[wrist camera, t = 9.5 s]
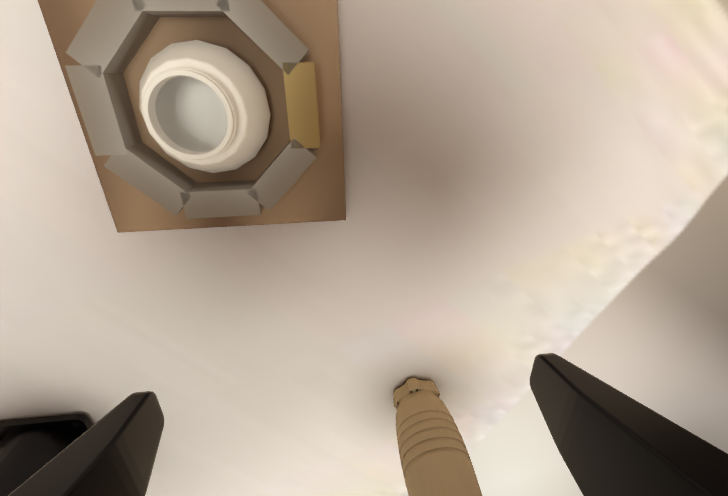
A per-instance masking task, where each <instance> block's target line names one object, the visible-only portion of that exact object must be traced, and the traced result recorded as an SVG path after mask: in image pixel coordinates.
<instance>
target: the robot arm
mask: <svg viewBox="0 0 728 496" xmlns="http://www.w3.org/2000/svg"><path fill="white" fill-rule="evenodd" d="M530 386H531V389H532V392H533V394H534V396H535V398H536V401H537V403H538V405H539V407H540V410H541V412H542V414H543V417H544V419H545V421H546V423H547V426H548V428H549V430H550V433H551V435H552V437H553V439H554V442H555V444H556V446H557V448H558V450H559V452H560V454H561V456H562V458H563V459H564V461H565V463H566V465H567V467H568V468H569V470H570V472H571V474H572V476H573V477H574V479H575V481H576V483H577V485H578V486H579V488H580V490H581V492H582V494H583V495H584V496H728V454H727V453H725V452H724V451H722V450H720V449H718V448H717V447H715V446H713V445H711V444H710V443H708V442H706V441H705V440H703V439H701V438H699V437H698V436H696V435H694V434H692V433H691V432H689V431H687V430H686V429H684V428H682V427H680V426H679V425H677V424H675V423H674V422H672V421H670V420H668V419H667V418H665V417H663V416H662V415H660V414H658V413H656V412H655V411H653V410H651V409H649V408H648V407H646V406H644V405H643V404H641V403H639V402H637V401H636V400H634V399H632V398H630V397H628V396H627V395H625V394H623V393H622V392H620V391H618V390H616V389H615V388H613V387H611V386H610V385H608V384H606V383H605V382H603V381H601V380H599V379H598V378H596V377H594V376H593V375H591V374H589V373H587V372H586V371H584V370H582V369H581V368H579V367H577V366H575V365H573V364H572V363H570V362H568V361H567V360H565V359H563V358H562V357H560V356H558V355H556V354H554V353H548V354H539V355H537V356H536V357H535V360H534V364H533V368H532V372H531V376H530ZM163 427H164V416H163V413H162V410H161V407H160V405H159V402H158V399H157V397H156V395H155V393H154V392H151V391H147V392H137V393H133V394H131V395H130V396H128V397H127V398H126V399H125V400H123V401H122V402H121V403H120V404H119V405H117V406H116V407H115V408H114V409H113V410H111V411H110V412H109V413H108V414H106V415H105V416H104V417H103V418H102V419H100V420H99V421H98V422H97V423H96V424H94V425H93V426H92V424H91V423H90V421H89V419H88V417H87V416H85V415H82V414H74V415H64V416H53V417H43V418H33V419H23V420H13V421H2V422H0V496H145V494H146V491H147V487H148V484H149V480H150V476H151V472H152V468H153V465H154V461H155V457H156V453H157V450H158V446H159V442H160V438H161V435H162V431H163Z"/></svg>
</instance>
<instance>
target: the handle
mask: <svg viewBox="0 0 728 496" xmlns="http://www.w3.org/2000/svg"><path fill="white" fill-rule="evenodd" d="M439 395H440V393H439V391H438V389H437V387H436V386H435V384H434V383H433V382H432V381H430V380H427V381H423V380H418V379H416V378H410V379H408V380H407V382H406V383H405V384H404V385H403V386H401V387H400V388H397V389H396V390H395V392H394V407H396V409H397V413H396V430H397V440H398V447H399V454H400V460H401V465H402V469H403V474H404V478H405V483H406V487H407V490H408V494H409V496H482V493H481V490H480V487H479V484H478V481H477V478H476V475H475V471H474V469H473V465H472V462H471V460H470V457H469V454H468V452H467V449H466V446H465V444H464V441H463V439H462V437H461V434H460V432H459V430H458V428H457V426H456V424H455V422H454V420H453V418H452V416H451V414H450V412H449V411H448V409H447V408H446V406H445V404H444V403H443V401H442V400H441V399H439Z"/></svg>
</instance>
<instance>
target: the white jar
mask: <svg viewBox="0 0 728 496" xmlns="http://www.w3.org/2000/svg"><path fill="white" fill-rule="evenodd" d="M139 108H140V111H141V113H142V116H143V118H144V121H145V124H146V126H147V129H148V131H149V134H150V135H151V136H152V137H153V138H154V139H155V141H156V142H157V143H158V144H159V145H160V147H161V148H162V149H163V150H164V151H165V152H166V154H167V155H169V156H171V157H172V158H174V159H176V160H177V161H179V162H181V163H182V164H184V165H186V166H187V167H189V168H192V169H197V170H201V171H206V172H211V173H217V172H224V171H230V170H236V169H238V168H239V167H241V166H242V165H244V164H245V163H247V162H248V161H250V160H251V159H253V158H255V156H256V155H257V153H258V152H259V150H260V148H261V147H262V145H263V144H264V142H265V140H266V139H267V137H268V130H269V123H270V116H271V113H270V109H269V104H268V100H267V96H266V92H265V88H264V87H263V85H262V84H261V82H260V81H259V79H258V78H257V76H256V75H255V73H254V72H253V70H252V69H251V67H250V66H249V65H248V64H247V63H245V62H244V61H243V60H242V59H240V58H239V57H238V56H236V55H235V54H234V53H232V52H231V51H230V50H228V49H227V48H224V47H220V46H217V45H213V44H210V43H206V42H203V41H199V40H193V41H186V42H179V43H172V44H170V45H168V46H167V47H166V48H164V49H163V50H162V51H160V52H159V53H157V54H156V55H155V56H153V57H152V58H151V59H150V61H149V63H148V65H147V67H146V69H145V71H144V73H143V75H142V77H141V79H140V84H139Z"/></svg>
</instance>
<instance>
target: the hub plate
mask: <svg viewBox="0 0 728 496" xmlns="http://www.w3.org/2000/svg"><path fill="white" fill-rule="evenodd" d="M38 2H39V5H40V8H41V11H42V14H43V17H44V20H45V23H46V26H47V29H48V31H49V34H50V37H51V40H52V43H53V46H54V49H55V52H56V55H57V58H58V60H59V63H60V66H61V69H62V72H63V75H64V78H65V81H66V84H67V87H68V89H69V92H70V95H71V98H72V101H73V104H74V107H75V110H76V113H77V116H78V119H79V121H80V124H81V127H82V130H83V133H84V136H85V139H86V142H87V145H88V148H89V150H90V153H91V156H92V159H93V162H94V165H95V168H96V171H97V174H98V177H99V179H100V182H101V185H102V188H103V191H104V194H105V197H106V200H107V203H108V206H109V208H110V211H111V214H112V217H113V220H114V223H115V226H116V229H117V232H135V231H153V230H172V229H190V228H208V227H227V226H245V225H263V224H282V223H300V222H318V221H337V220H346V207H345V182H344V158H343V133H342V108H341V83H340V58H339V33H338V8H337V0H38ZM193 40H199V41H203V42H206V43H210V44H213V45H217V46H220V47H224V48H227V49H228V50H230V51H231V52H232V53H234V54H235V55H236V56H238V57H239V58H240V59H242V60H243V61H244V62H245V63H247V64H248V65H249V66H250V67H251V69H252V70H253V72H254V73H255V75H256V76H257V78H258V79H259V81H260V82H261V84H262V85H263V87H264V88H265V92H266V96H267V100H268V104H269V109H270V113H271V116H270V123H269V130H268V137H267V139H266V140H265V142H264V144H263V145H262V147H261V148H260V150H259V152H258V153H257V155H256V156H255V158H253V159H251V160H250V161H248V162H247V163H245V164H244V165H242V166H241V167H239V168H238V169H236V170H230V171H224V172H217V173H211V172H206V171H201V170H197V169H192V168H189V167H187V166H186V165H184V164H182V163H181V162H179V161H177V160H176V159H174V158H172V157H171V156H169V155H167V154H166V152H165V151H164V150H163V149H162V148H161V147H160V145H159V144H158V143H157V142H156V141H155V139H154V138H153V137H152V136H151V135H150V134H149V131H148V129H147V126H146V124H145V121H144V118H143V116H142V113H141V111H140V108H139V84H140V79H141V77H142V75H143V73H144V71H145V69H146V67H147V65H148V63H149V61H150V59H151V58H152V57H153V56H155V55H156V54H157V53H159V52H160V51H162V50H163V49H164V48H166V47H167V46H168V45H170V44H172V43H179V42H186V41H193Z"/></svg>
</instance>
